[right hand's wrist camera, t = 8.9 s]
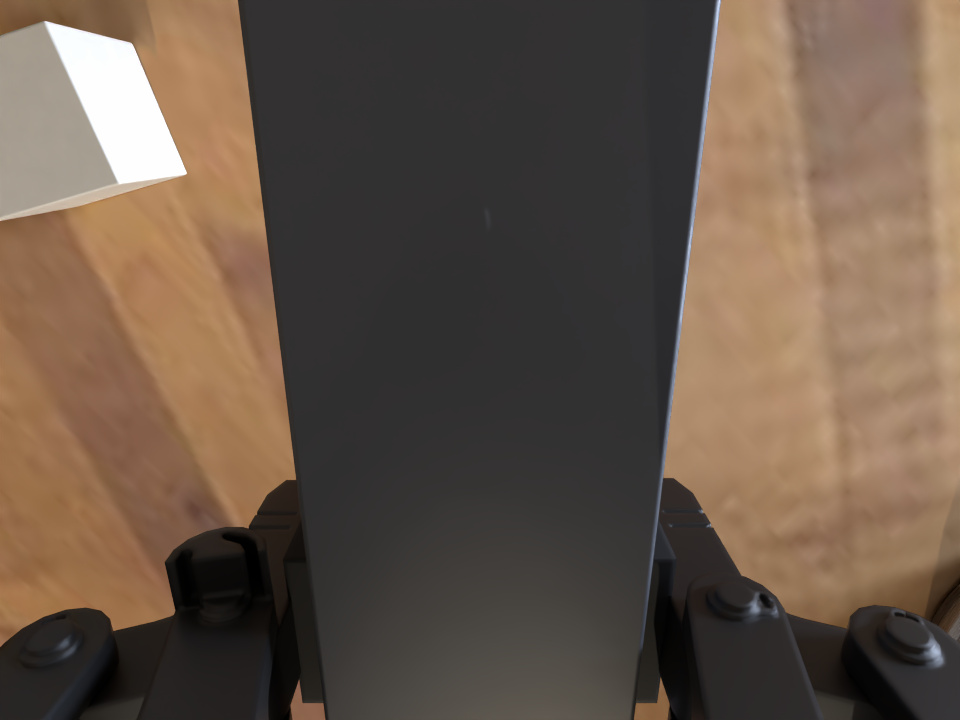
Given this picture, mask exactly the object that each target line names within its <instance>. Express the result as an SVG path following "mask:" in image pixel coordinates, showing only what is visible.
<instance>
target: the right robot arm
mask: <svg viewBox="0 0 960 720" xmlns="http://www.w3.org/2000/svg"><path fill="white" fill-rule="evenodd" d="M165 566H166V570H167V575H168V579H169V584H170V588H171V593H172V597H173V602H174V606H175V613H174V615H173V616H171V617H168V618H165V619H161V620H158V621H155V622H151V623H146V624H142V625H138V626H133V627H129V628H125V629H121V630H116V631H113V629H112V625H111V621H110V619H109V618H108V617H107V616H106V615H105V614H104V613H103V612H102V611H100V610H95V609H90V608H78V609H69V610H64V611H61V612H58V613H55V614H52V615H49V616H45V617H43V618H41V619H39V620H37V621H36V622H34V623H32V624H30V625H28V626H26V627H24V628H22V629H21V630H20V631H19V632H17V633H16V634H15V635H14V636H13V637H11V638H10V639H9V640H8V641H6V642H5V643H4V644H3V645H2V646H1V647H0V720H292V714H291V707H290V705H291V702H292V699H293V696H294V693H295V690H296V687H297V684H298V681H299V680H300V687H301V694H302V702H303V703H323V695H322V686H321V678H320V670H319V662H318V653H317V645H316V637H315V629H314V621H313V612H312V604H311V596H310V588H309V580H308V571H307V563H306V555H305V547H304V538H303V530H302V522H301V514H300V506H299V497H298V489H297V481H296V480H286V481H285V482H283V483H282V484H281V485H279V486H278V487H277V488H276V489H274V490H273V491H272V492H270V493H269V494H268V495H267V496H266V498H265V500H264V501H263V503H262V505H261V506H260V508H259V510H258V512H257V515H255V517H254V518H253V520H252V522H251V523H250V525H249V529H248V528H244V527H224V528H220V529H215V530H211V531H206V532H204V533H202V534H199V535H197V536H195V537H192V538H190V539H188V540H187V541H185V542H184V543H183V544H181V545H180V546H179V547H177V548H176V549H174V550H173V552H172V553H171V554H170V556H169V557H168V559H167V560H166V561H165ZM660 677H661V679H662V682H663V685H664V688H665V691H666V694H667V697H668V700H669V703H670V707H669V714H668V720H960V584H959V585H958V586H957V587H956V588H955V589H954V590H953V591H952V592H951V593H950V595H949V596H948V597H947V598H946V600H945V601H944V602H943V603H942V605H941V606H940V608H939V609H938V611H937V612H936V614H935V616H934V617H933V619H932V621H931V622H930V621H928V620H926V619H924V618H922V617H920V616H918V615H917V614H914V613H910V612H907V611H904V610H901V609H898V608H895V607H887V606H878V605H873V606H868V607H863V608H859V609H858V610H857V611H856V612H854V613H853V614H852V615H851V616H850V619H849V623H848V627H847V629H846V628H841V627H837V626H833V625H828V624H824V623H820V622H815V621H811V620H807V619H803V618H800V617H797V616H793V615H790V614H788V613H786V612H785V610H784V608H783V607H782V605H781V603H780V602H779V600H778V599H777V597H776V596H775V595H774V594H772V593H771V592H770V591H769V590H767V589H766V588H765V587H764V586H763V585H761V584H759V583H757V582H755V581H753V580H751V579H749V578H747V577H744V576H741V574H740V573H739V571H738V569H737V567H736V566H735V564H734V562H733V561H732V559H731V557H730V556H729V554H728V552H727V550H726V549H725V547H724V545H723V544H722V542H721V540H720V539H719V537H718V535H717V534H716V532H715V530H714V528H711V523H710V522H709V520H708V518H707V517H706V515H705V513H703V510H702V508H701V506H700V505H699V503H698V501H697V500H696V498H695V496H694V494H693V493H692V492H691V491H689V490H688V489H687V488H685V487H684V486H683V485H682V484H680V483H679V482H678V481H676V480H675V479H674V478H663V483H662V491H661V499H660V507H659V516H658V524H657V532H656V540H655V549H654V557H653V565H652V573H651V582H650V590H649V598H648V606H647V615H646V623H645V631H644V639H643V648H642V656H641V664H640V672H639V681H638V689H637V697H636V703H657V699H658V692H659V684H660Z"/></svg>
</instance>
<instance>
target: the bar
mask: <svg viewBox="0 0 960 720" xmlns="http://www.w3.org/2000/svg"><path fill="white" fill-rule="evenodd" d="M720 4H721V0H238V5H239V13H240V21H241V29H242V37H243V46H244V54H245V62H246V70H247V78H248V87H249V95H250V103H251V111H252V120H253V128H254V136H255V144H256V152H257V161H258V169H259V177H260V185H261V193H262V202H263V210H264V218H265V226H266V235H267V243H268V251H269V259H270V267H271V276H272V284H273V292H274V300H275V308H276V317H277V325H278V333H279V341H280V350H281V358H282V366H283V374H284V382H285V391H286V399H287V407H288V415H289V423H290V432H291V440H292V448H293V456H294V465H295V473H296V481H297V489H298V497H299V506H300V514H301V522H302V530H303V538H304V547H305V555H306V563H307V571H308V580H309V588H310V596H311V604H312V612H313V621H314V629H315V637H316V645H317V653H318V662H319V670H320V678H321V686H322V695H323V703H324V711H325V719H326V720H634V714H635V705H636V697H637V689H638V681H639V672H640V664H641V656H642V648H643V639H644V631H645V623H646V615H647V606H648V598H649V590H650V582H651V573H652V565H653V557H654V549H655V540H656V532H657V524H658V516H659V507H660V499H661V491H662V483H663V474H664V466H665V458H666V450H667V441H668V433H669V425H670V417H671V408H672V400H673V392H674V384H675V375H676V367H677V359H678V351H679V342H680V334H681V326H682V318H683V309H684V301H685V293H686V285H687V276H688V268H689V260H690V252H691V243H692V235H693V227H694V219H695V210H696V202H697V194H698V186H699V177H700V169H701V161H702V153H703V144H704V136H705V128H706V120H707V111H708V103H709V95H710V87H711V78H712V70H713V62H714V54H715V45H716V37H717V29H718V21H719V12H720Z"/></svg>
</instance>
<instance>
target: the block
mask: <svg viewBox="0 0 960 720" xmlns="http://www.w3.org/2000/svg"><path fill="white" fill-rule="evenodd" d="M184 175H186V170H185V168H184V166H183V163H182V161H181V158H180V156H179V154H178V151H177V149H176V147H175V144H174V142H173V139H172V137H171V135H170V132H169V130H168V128H167V125H166V123H165V120H164V118H163V116H162V113H161V111H160V108H159V106H158V104H157V101H156V99H155V97H154V94H153V92H152V89H151V87H150V85H149V82H148V80H147V78H146V75H145V73H144V70H143V68H142V66H141V63H140V61H139V58H138V56H137V54H136V51H135V49H134V47H133V44H132V43H129V42H126V41H122V40H118V39H114V38H110V37H106V36H102V35H98V34H94V33H90V32H86V31H82V30H78V29H74V28H71V27H67V26H63V25H59V24H55V23H51V22H47V21H43V22H40V23H37V24H34V25H30V26H27V27H24V28H21V29H18V30H15V31H12V32H9V33H6V34H3V35H0V221H2V220H8V219H13V218H18V217H24V216H29V215H35V214H40V213H45V212H51V211H56V210H61V209H67V208H72V207H77V206H81V205H85V204H88V203H91V202H95V201H98V200H102V199H105V198H109V197H112V196H115V195H119V194H122V193H126V192H129V191H132V190H136V189H139V188H143V187H146V186H149V185H153V184H156V183H160V182H163V181H167V180H170V179H173V178H177V177H180V176H184Z"/></svg>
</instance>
